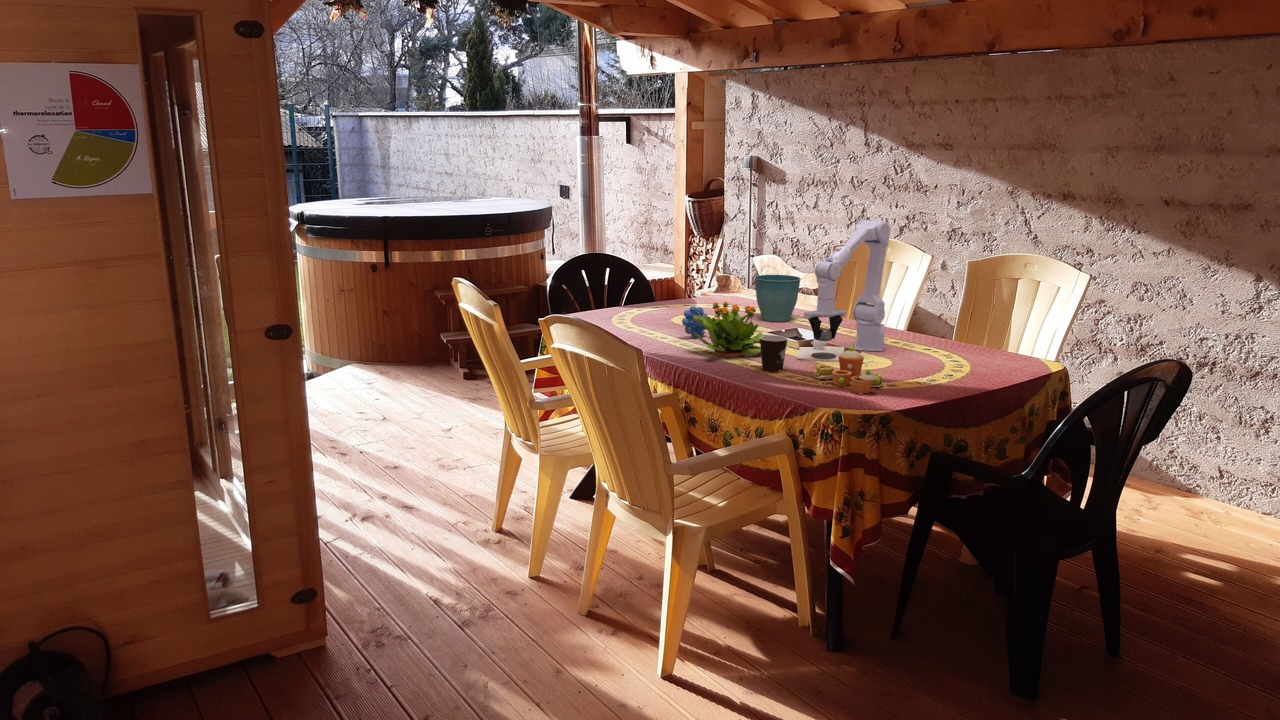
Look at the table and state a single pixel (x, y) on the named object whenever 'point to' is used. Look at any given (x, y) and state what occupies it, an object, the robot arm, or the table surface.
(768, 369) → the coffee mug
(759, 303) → the flower pot
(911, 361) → the table surface
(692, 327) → the grapes
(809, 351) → the board
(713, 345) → the potted flower
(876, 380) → the toy tea set
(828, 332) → the knob
